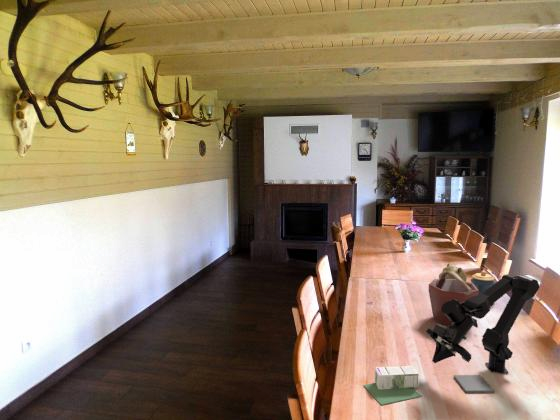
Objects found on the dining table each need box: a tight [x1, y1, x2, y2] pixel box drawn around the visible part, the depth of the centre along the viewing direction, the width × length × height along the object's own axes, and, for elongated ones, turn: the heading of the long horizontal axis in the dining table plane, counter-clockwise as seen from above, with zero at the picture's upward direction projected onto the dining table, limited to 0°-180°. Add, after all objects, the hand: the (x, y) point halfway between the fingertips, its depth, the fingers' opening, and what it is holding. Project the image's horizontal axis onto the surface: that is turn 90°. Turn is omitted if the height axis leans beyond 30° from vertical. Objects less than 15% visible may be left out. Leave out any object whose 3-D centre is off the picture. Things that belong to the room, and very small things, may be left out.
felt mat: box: [363, 382, 423, 406], centre depth 141 cm, size 16×12×1 cm
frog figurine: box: [438, 263, 468, 282], centre depth 261 cm, size 14×18×12 cm
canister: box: [469, 270, 496, 295], centre depth 226 cm, size 13×13×18 cm
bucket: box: [428, 271, 479, 327], centre depth 198 cm, size 24×22×25 cm
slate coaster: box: [453, 374, 495, 394], centre depth 144 cm, size 10×10×1 cm
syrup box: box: [374, 365, 419, 390], centre depth 144 cm, size 6×6×14 cm
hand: (433, 362), depth 145 cm, fingers closed
